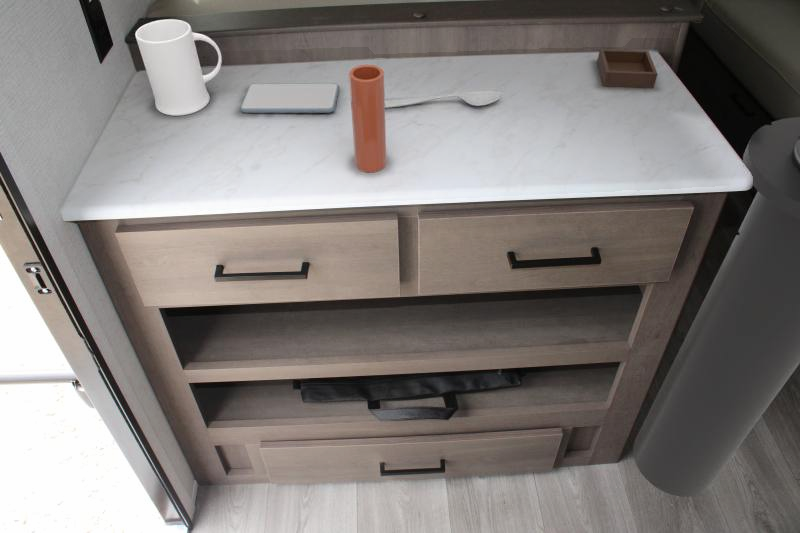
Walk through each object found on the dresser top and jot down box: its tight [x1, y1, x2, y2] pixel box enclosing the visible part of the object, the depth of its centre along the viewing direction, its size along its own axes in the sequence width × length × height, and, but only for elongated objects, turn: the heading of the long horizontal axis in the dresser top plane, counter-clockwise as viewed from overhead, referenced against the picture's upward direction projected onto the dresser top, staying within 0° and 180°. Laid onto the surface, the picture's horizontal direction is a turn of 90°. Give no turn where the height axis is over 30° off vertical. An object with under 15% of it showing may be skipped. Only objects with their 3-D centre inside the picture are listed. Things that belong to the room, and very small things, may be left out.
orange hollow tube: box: [348, 64, 387, 174], centre depth 85 cm, size 4×4×14 cm
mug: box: [134, 18, 223, 117], centre depth 99 cm, size 12×8×12 cm
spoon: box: [385, 90, 502, 109], centre depth 101 cm, size 4×21×2 cm, turn 92°
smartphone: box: [239, 82, 340, 114], centre depth 102 cm, size 8×1×15 cm
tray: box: [596, 48, 658, 89], centre depth 107 cm, size 8×8×3 cm
